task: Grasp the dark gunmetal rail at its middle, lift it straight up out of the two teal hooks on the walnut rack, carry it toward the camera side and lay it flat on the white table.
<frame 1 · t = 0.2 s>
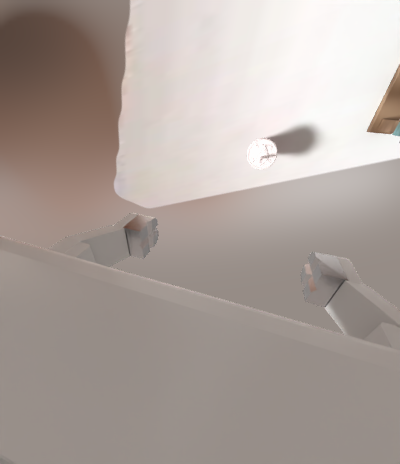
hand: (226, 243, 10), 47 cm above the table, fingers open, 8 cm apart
smoothie: (262, 146, 49), on the table
rack: (399, 89, 37), on the table
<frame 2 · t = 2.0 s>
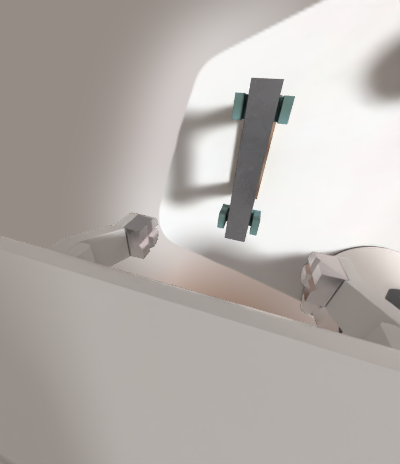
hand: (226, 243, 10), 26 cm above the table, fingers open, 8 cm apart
rail: (249, 171, 22), point 12 cm above the table, touching rack
rack: (255, 151, 31), on the table
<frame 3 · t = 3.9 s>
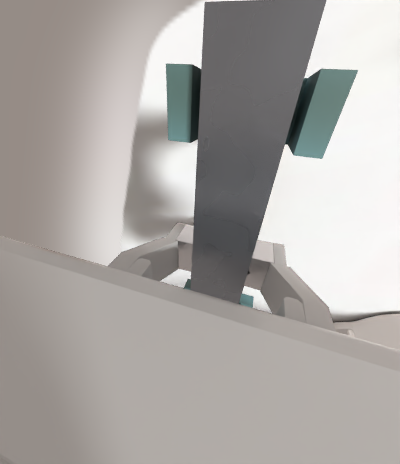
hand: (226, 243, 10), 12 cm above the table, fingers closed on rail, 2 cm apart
rail: (227, 238, 11), point 12 cm above the table, touching gripper, rack
rack: (246, 175, 20), on the table
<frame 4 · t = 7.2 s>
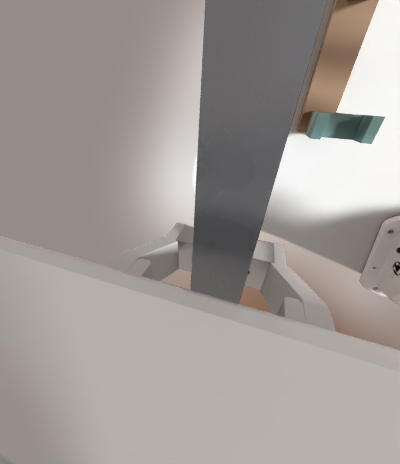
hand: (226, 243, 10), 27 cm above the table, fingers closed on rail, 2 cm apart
rail: (228, 238, 10), point 27 cm above the table, touching gripper
rack: (332, 64, 24), on the table
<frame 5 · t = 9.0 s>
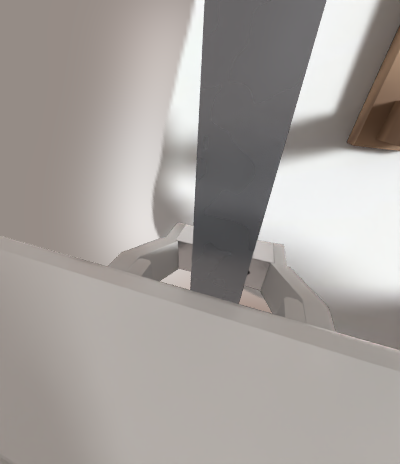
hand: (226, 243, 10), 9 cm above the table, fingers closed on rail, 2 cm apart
rail: (227, 238, 10), point 9 cm above the table, touching gripper
when the fingers open (3 cm above the table, at t = 10.3 s): rail drops 3 cm, on the table.
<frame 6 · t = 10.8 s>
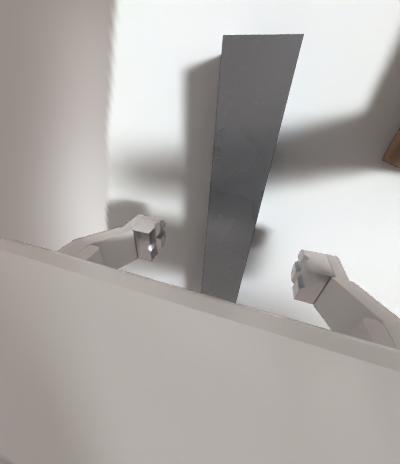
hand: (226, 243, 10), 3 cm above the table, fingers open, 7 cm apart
rail: (234, 216, 13), on the table
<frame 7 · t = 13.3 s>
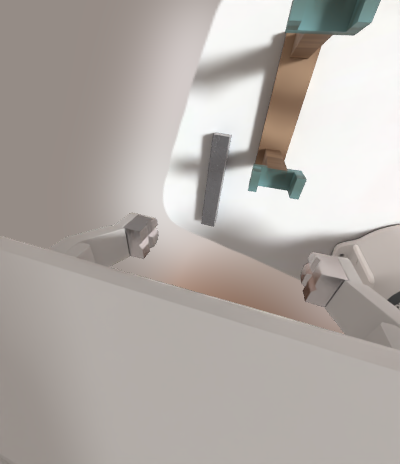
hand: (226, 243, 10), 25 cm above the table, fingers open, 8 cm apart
rail: (216, 181, 35), on the table
rack: (283, 108, 26), on the table
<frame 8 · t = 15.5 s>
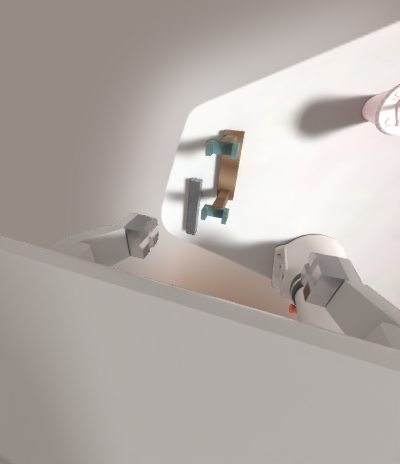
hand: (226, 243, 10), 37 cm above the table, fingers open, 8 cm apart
smoothie: (375, 107, 32), on the table
rail: (195, 206, 53), on the table
rack: (229, 166, 44), on the table
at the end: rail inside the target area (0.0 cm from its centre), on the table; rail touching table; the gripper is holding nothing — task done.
